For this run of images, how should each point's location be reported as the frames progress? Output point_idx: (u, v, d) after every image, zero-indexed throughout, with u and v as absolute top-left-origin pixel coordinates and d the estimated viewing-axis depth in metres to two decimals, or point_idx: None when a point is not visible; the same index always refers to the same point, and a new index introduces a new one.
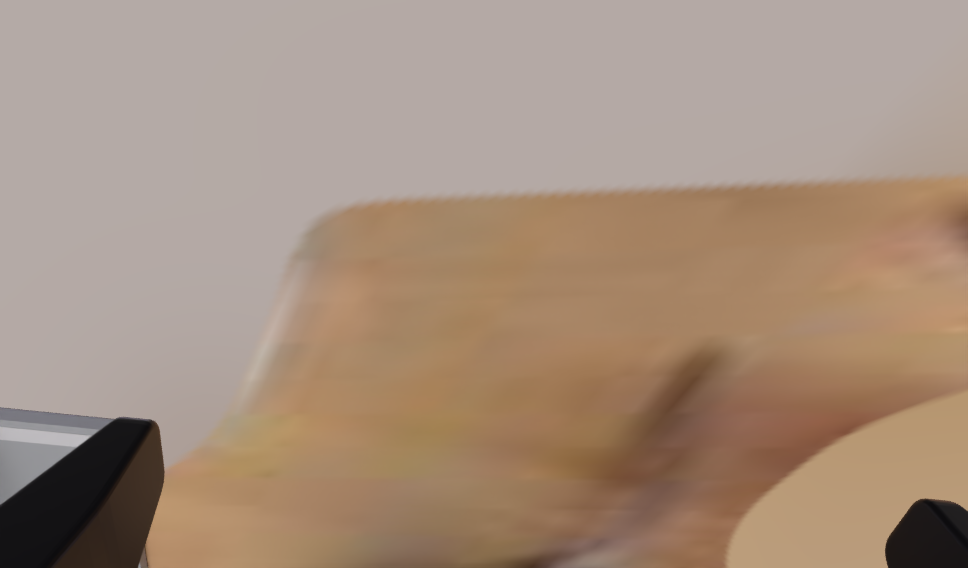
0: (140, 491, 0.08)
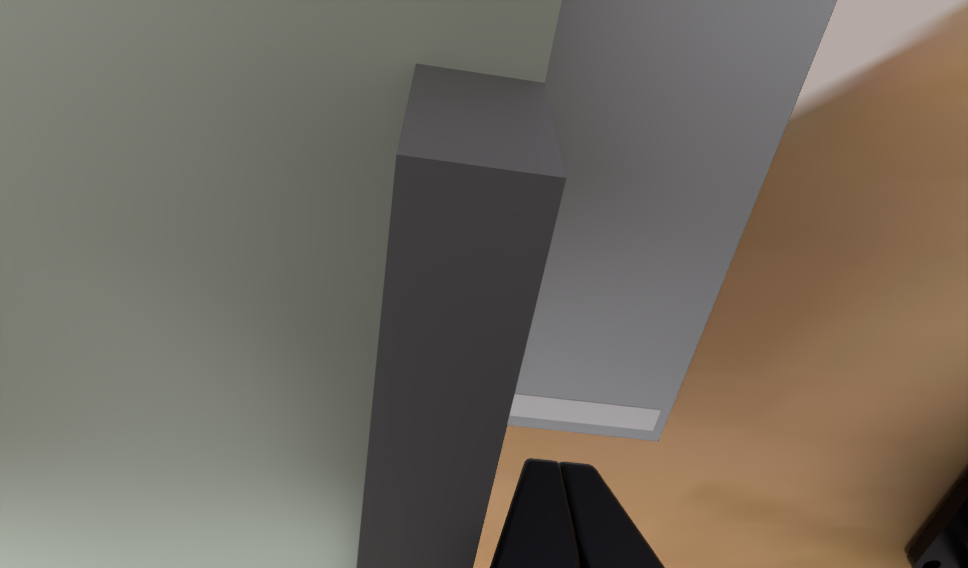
0: None
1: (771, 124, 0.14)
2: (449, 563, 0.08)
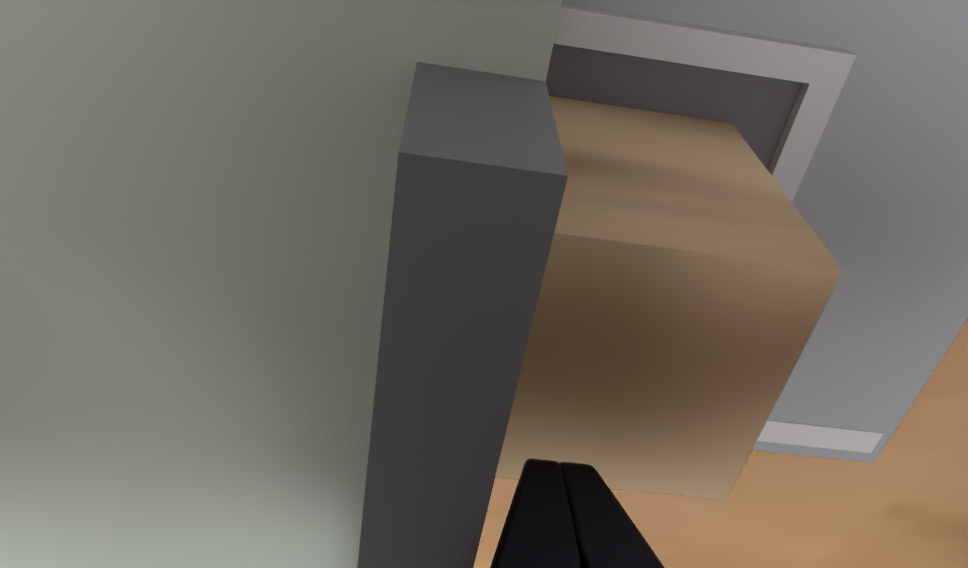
0: None
1: None
2: (450, 561, 0.08)
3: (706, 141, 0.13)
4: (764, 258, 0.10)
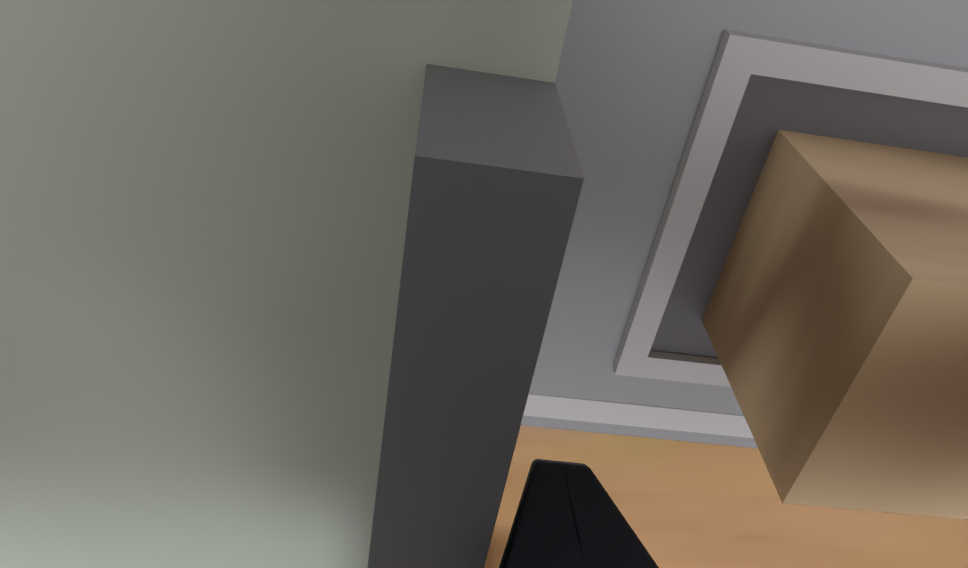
0: None
1: None
2: (459, 563, 0.08)
3: None
4: None
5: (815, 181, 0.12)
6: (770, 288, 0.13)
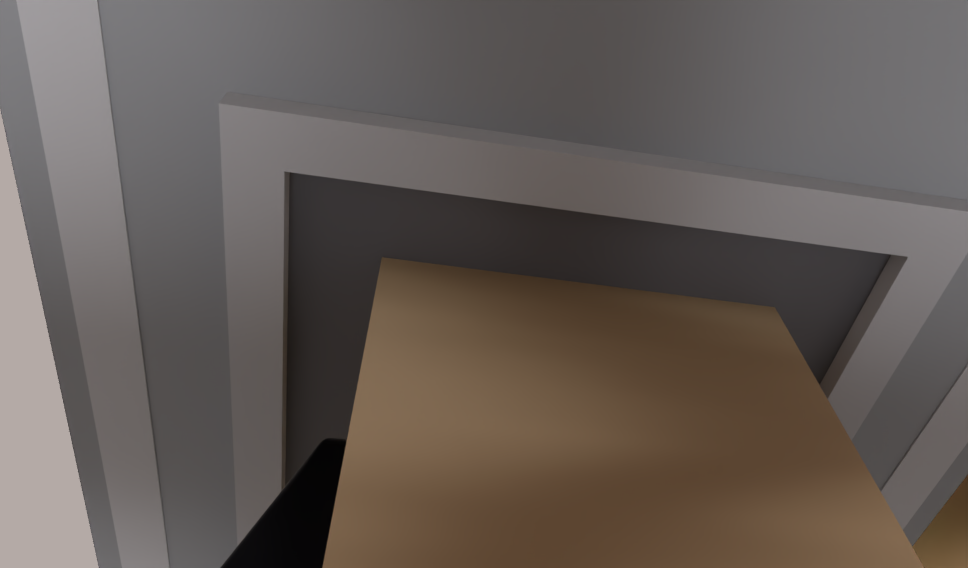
0: None
1: None
2: None
3: None
4: None
5: None
6: None
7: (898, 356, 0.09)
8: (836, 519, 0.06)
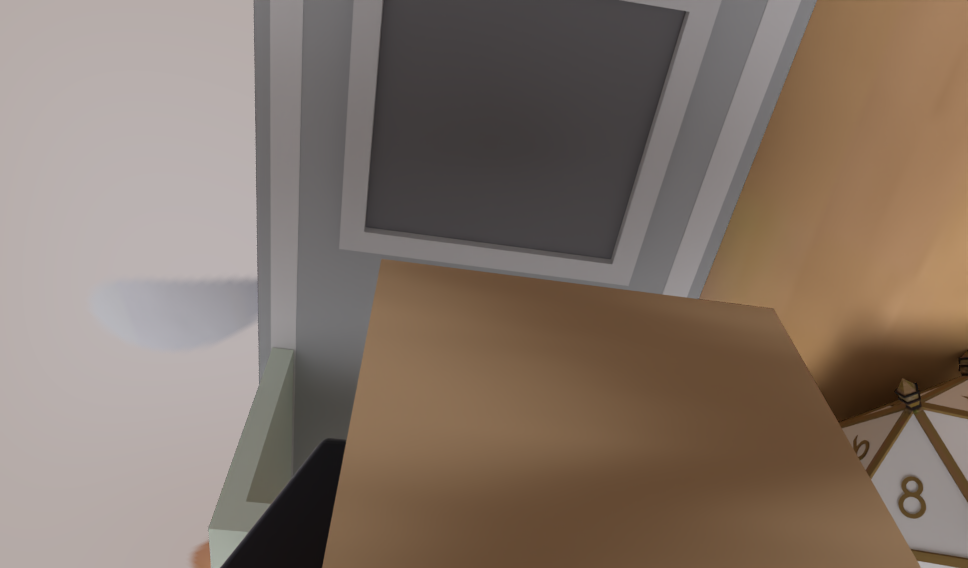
0: None
1: None
2: None
3: None
4: None
5: None
6: None
7: (694, 74, 0.17)
8: (835, 519, 0.06)
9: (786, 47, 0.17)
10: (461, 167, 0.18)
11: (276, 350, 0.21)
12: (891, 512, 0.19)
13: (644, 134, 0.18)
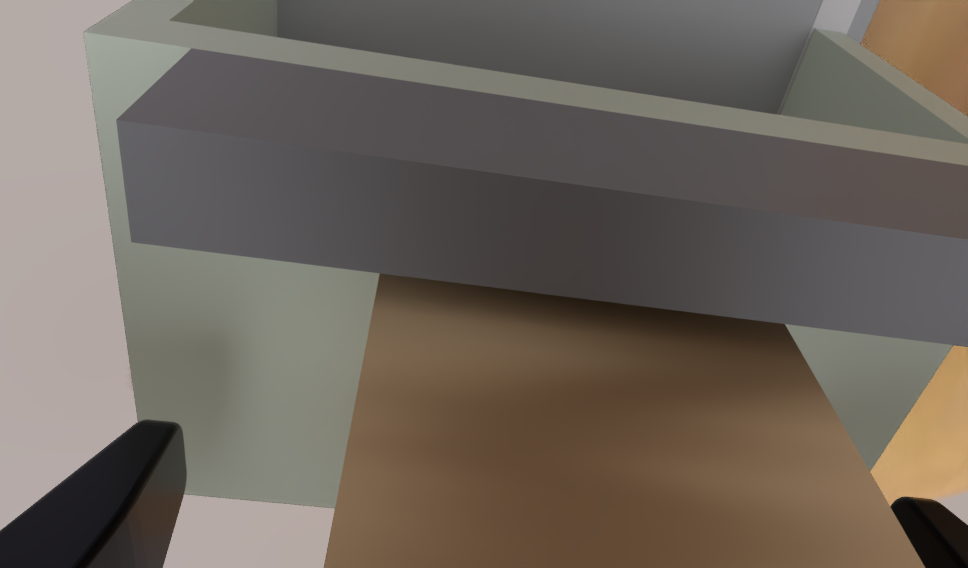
0: (165, 493, 0.08)
1: None
2: (631, 218, 0.07)
3: None
4: None
5: None
6: None
7: None
8: (790, 423, 0.07)
9: None
10: None
11: None
12: None
13: None
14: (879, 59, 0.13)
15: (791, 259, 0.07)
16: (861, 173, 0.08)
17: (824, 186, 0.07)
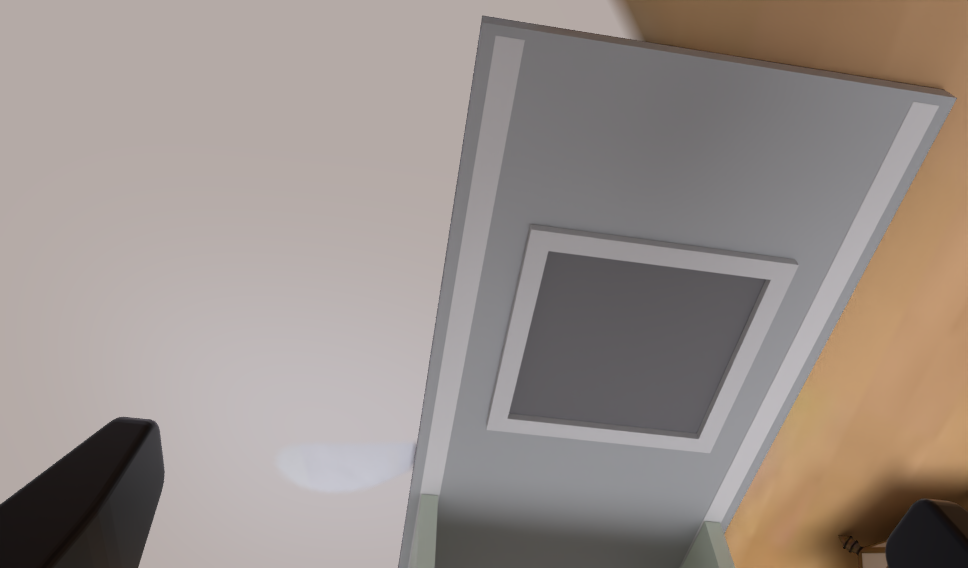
0: (140, 491, 0.08)
1: (630, 58, 0.18)
2: None
3: None
4: None
5: None
6: None
7: (772, 318, 0.22)
8: None
9: (841, 297, 0.22)
10: (586, 374, 0.23)
11: (424, 496, 0.27)
12: None
13: (729, 352, 0.23)
14: (730, 560, 0.26)
15: None
16: None
17: None
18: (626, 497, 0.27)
